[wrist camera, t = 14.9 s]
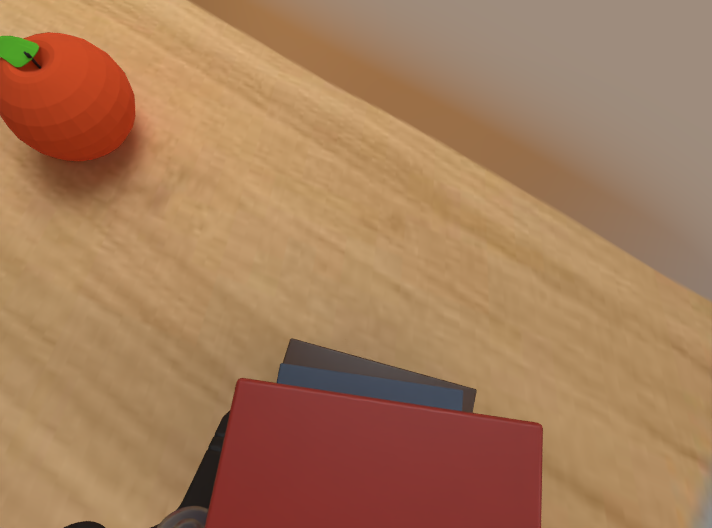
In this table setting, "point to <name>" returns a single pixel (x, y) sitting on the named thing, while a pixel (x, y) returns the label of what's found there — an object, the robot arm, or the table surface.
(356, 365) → the walnut block
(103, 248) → the table surface
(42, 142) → the clementine
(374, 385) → the slate block
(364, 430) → the tall red block
